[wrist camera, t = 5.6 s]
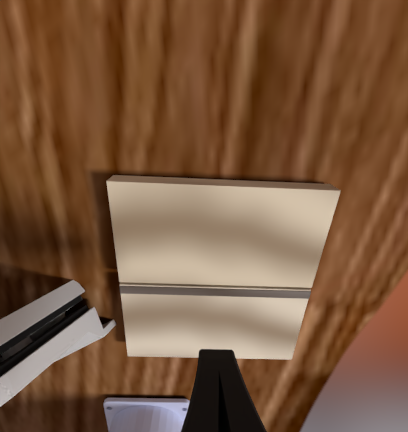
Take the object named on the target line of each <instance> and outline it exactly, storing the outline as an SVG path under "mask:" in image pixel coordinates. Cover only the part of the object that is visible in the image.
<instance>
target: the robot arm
mask: <svg viewBox="0 0 408 432" xmlns="http://www.w3.org/2000/svg"><path fill="white" fill-rule="evenodd" d="M103 405H104V410H105V416H106V421H107V426H108V431H109V432H267V431H266V429H265V427H264V425H263V423H262V421H261V419H260V417H259V415H258V413H257V411H256V408H255V406H254V404H253V402H252V399H251V397H250V395H249V393H248V390H247V388H246V385H245V383H244V380H243V378H242V375H241V372H240V370H239V367H238V364H237V361H236V358H235V354H234V351H233V350H227V349H201V350H200V351H199V357H198V367H197V373H196V378H195V383H194V387H193V391H192V395H191V399H190V401H189V400H188V399H172V398H106V399H105V400H104V404H103Z"/></svg>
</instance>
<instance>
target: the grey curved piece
mask: <svg viewBox="0 0 408 432" xmlns="http://www.w3.org/2000/svg"><path fill="white" fill-rule="evenodd" d="M83 292H85V290H84V289H83V288H82V287H81V285H80V284H79V283H77V282H76V281H74V280H72V281H70V282H68V283H66V284H64V285H62V286H61V287H59V288H57V289H55V290H53V291H51V292H50V293H48V294H46V295H44V296H42V297H40V298H39V299H37V300H35V301H33V302H31V303H30V304H28V305H26V306H24V307H22V308H20V309H19V310H17V311H15V312H13V313H11V314H9V315H8V316H6V317H4V318H2V319H0V355H2V357H0V407H1V406H2V405H3V404H5V403H6V402H7V401H8V400H10V399H11V398H12V397H14V396H15V395H16V394H17V393H18V392H19V391H21V390H22V389H23V388H24V387H25V386H26V385H28V384H29V383H30V382H31V381H32V380H33V379H35V378H36V377H37V376H38V375H39V374H40V373H41V372H43V371H44V370H45V369H46V368H47V367H48V366H50V365H51V364H52V363H53V362H55V361H57V360H59V359H61V358H63V357H65V356H67V355H69V354H71V353H73V352H75V351H77V350H79V349H81V348H83V347H85V346H87V345H89V344H91V343H93V342H95V341H97V340H99V339H101V338H103V337H104V336H106V335H107V334H108V332H109V331H110V330H111V329H112V328H113V327H114V326H115V325H116V322H115V321H114V319H113V320H111V321H109V322H107V323H105V324H103V325H102V324H101V322H100V319H99V317H98V314H97V312H96V309H95V307H93V308H91V309H88V307H87V306H86V305H85V306H83V307H82V308H80V309H78V310H76V311H74V312H73V313H71V314H69V315H68V316H66V317H65V311H67V310H68V309H70V308H71V307H73V306H74V305H76V304H77V303H79V302H80V301H81V300H83V299H82V297H81V296H80V294H82V293H83Z"/></svg>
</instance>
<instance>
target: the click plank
mask: <svg viewBox="0 0 408 432" xmlns="http://www.w3.org/2000/svg"><path fill="white" fill-rule="evenodd" d="M106 182H107V190H108V198H109V206H110V213H111V221H112V229H113V237H114V245H115V252H116V260H117V268H118V276H119V282H130V283H165V284H200V285H234V286H269V287H303V288H312V284H313V281H314V278H315V274H316V271H317V268H318V264H319V261H320V258H321V254H322V251H323V248H324V244H325V241H326V238H327V235H328V231H329V228H330V225H331V221H332V218H333V215H334V211H335V208H336V205H337V201H338V198H339V195H340V190H339V189H337V188H336V187H334V186H333V185H331V184H318V183H294V182H270V181H246V180H222V179H198V178H174V177H150V176H126V175H113V176H112V177H111V178H109V179H108V180H107V181H106Z"/></svg>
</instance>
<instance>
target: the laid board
mask: <svg viewBox="0 0 408 432" xmlns="http://www.w3.org/2000/svg"><path fill="white" fill-rule="evenodd" d="M119 287H120V293H121V301H122V310H123V319H124V327H125V336H126V345H127V354H128V356H145V357H195V358H198V357H199V351H200V350H201V349H227V350H233V351H234V354H235V358H244V359H292V356H293V353H294V349H295V345H296V342H297V338H298V335H299V331H300V327H301V324H302V320H303V316H304V313H305V309H306V306H307V302H308V299H309V297H310V293H311V289H310V288H303V287H269V286H234V285H200V284H165V283H130V282H121V283H120V286H119Z"/></svg>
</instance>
